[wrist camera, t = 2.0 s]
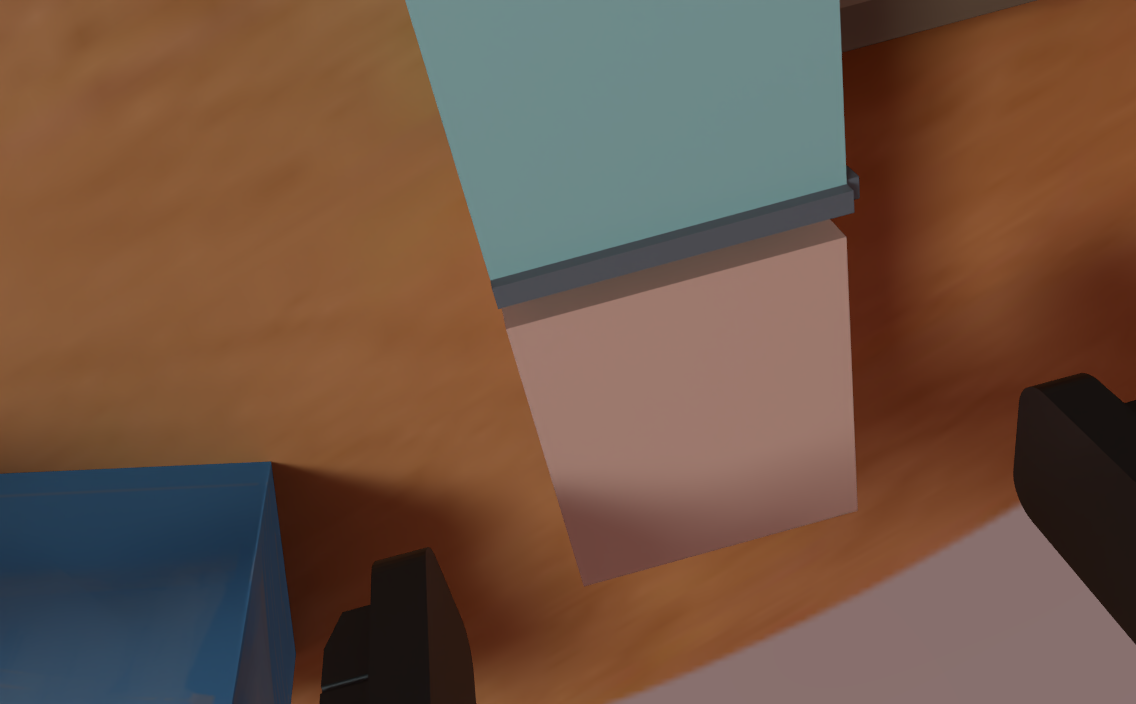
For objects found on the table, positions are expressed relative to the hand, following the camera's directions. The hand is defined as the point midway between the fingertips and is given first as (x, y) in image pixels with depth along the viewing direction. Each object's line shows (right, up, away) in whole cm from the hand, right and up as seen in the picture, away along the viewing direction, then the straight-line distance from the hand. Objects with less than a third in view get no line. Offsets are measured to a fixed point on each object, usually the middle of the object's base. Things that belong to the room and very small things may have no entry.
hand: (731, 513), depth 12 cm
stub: (-1, +4, +6) cm, 7 cm away
